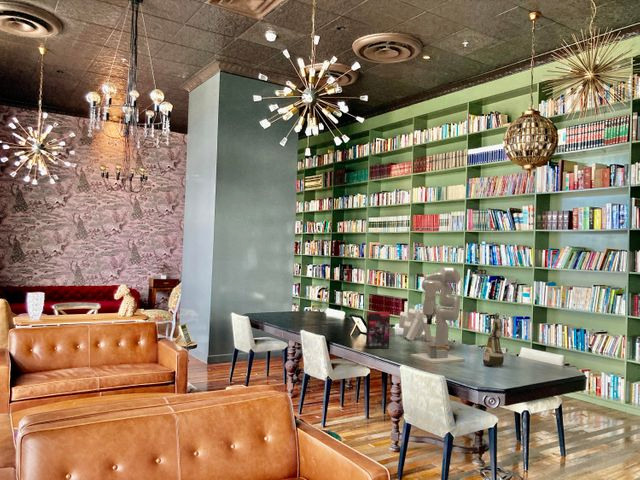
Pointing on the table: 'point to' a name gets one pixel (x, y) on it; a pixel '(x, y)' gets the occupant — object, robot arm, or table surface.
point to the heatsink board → (440, 360)
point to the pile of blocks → (414, 324)
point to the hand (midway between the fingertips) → (429, 324)
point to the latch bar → (441, 347)
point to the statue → (494, 345)
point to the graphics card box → (377, 329)
